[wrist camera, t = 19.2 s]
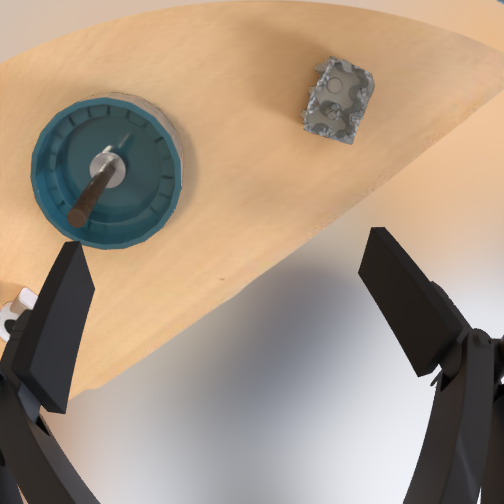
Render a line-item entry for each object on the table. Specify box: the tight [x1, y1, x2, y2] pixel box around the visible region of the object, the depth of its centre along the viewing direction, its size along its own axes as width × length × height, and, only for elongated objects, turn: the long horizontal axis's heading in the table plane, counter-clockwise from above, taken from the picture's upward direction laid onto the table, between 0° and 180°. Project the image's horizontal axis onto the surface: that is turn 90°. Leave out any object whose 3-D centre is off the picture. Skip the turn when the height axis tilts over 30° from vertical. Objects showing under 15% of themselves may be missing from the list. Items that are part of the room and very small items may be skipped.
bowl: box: [31, 92, 183, 250], centre depth 35 cm, size 20×20×6 cm
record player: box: [0, 287, 38, 342], centre depth 49 cm, size 12×3×20 cm
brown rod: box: [67, 149, 128, 228], centre depth 31 cm, size 5×5×14 cm
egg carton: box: [301, 56, 375, 144], centre depth 35 cm, size 11×8×4 cm
